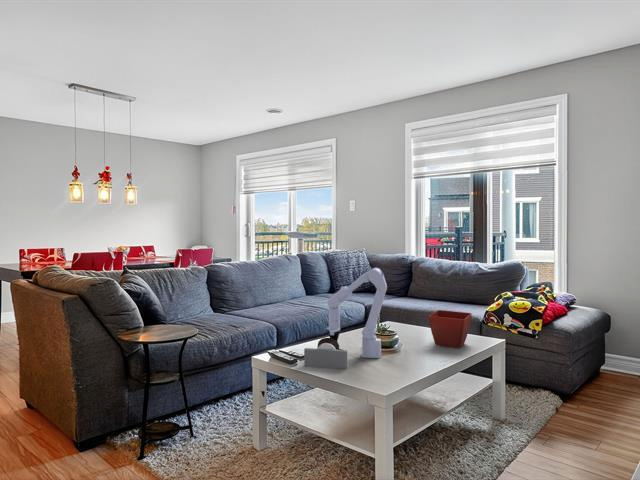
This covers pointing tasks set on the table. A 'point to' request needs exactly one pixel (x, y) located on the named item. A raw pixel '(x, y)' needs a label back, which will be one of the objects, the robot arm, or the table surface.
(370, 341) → the robot arm
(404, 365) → the table surface
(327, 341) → the dark brown rounded piece
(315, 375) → the table surface
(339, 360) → the duct panel
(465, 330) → the plant pot
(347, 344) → the table surface
